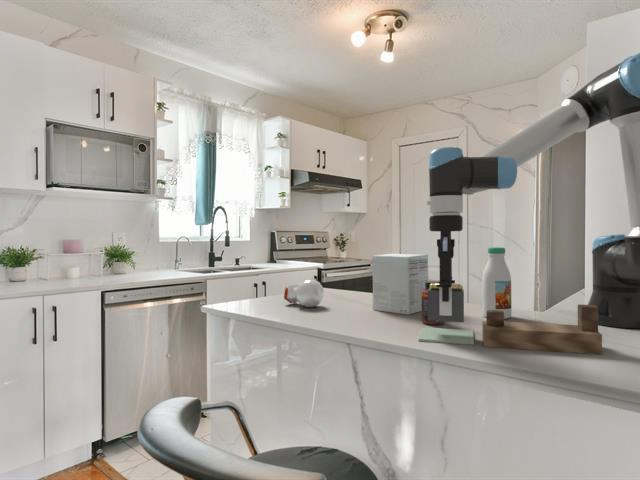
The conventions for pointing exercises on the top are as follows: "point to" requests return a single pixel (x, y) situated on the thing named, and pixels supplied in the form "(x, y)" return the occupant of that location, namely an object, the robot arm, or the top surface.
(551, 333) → the plane body
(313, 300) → the potion bottle
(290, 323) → the top surface
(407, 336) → the top surface
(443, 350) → the top surface
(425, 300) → the supplement bottle
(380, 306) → the supplement box
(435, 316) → the lever cap
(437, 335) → the mat
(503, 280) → the milk bottle
